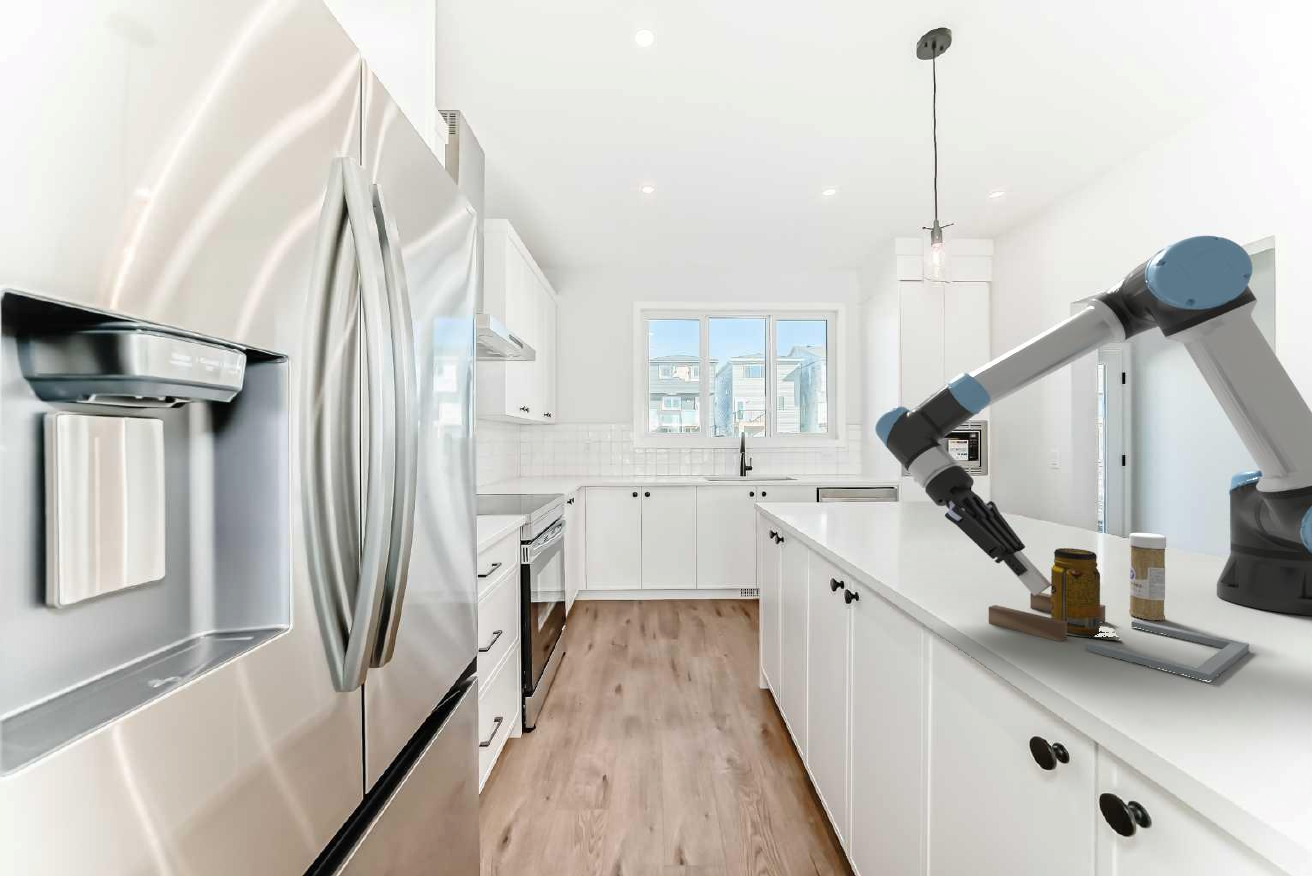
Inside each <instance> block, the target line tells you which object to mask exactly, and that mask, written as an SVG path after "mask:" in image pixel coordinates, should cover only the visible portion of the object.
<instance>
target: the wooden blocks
mask: <svg viewBox="0 0 1312 876" xmlns="http://www.w3.org/2000/svg"><path fill="white" fill-rule="evenodd" d="M1029 598H1030V605H1029V606H1030V609H1034V610H1038V609H1039V611H1042V610H1043V611H1042V612H1047V611H1048V613H1051V593H1045V592H1041V593H1040V594H1038V595H1035V596H1034V595H1033V594H1032V593H1031V592H1030V597H1029ZM1102 621H1105V622H1106V605H1105V604H1100V622H1102ZM988 624H991V625H996V626H999V627H1003V628H1007V629H1011V630H1015V631H1019V632H1023V633H1027V634H1030V635H1032V636H1033V635H1034V636H1038V637H1041V638H1046V639H1049V640H1054V641H1058V642H1060V643H1061V642H1063V641H1066V640H1067V639H1068V635H1067V622H1066V621H1062V620H1058V619H1053V618H1051V617H1050V616H1049V617H1048V616H1043V615H1039V614H1036V613H1032V612H1027V611H1023V610H1019V609H1014V608H1010V607H1006V606H1001V605H996V604H995V605H991V606H988Z"/></svg>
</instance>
